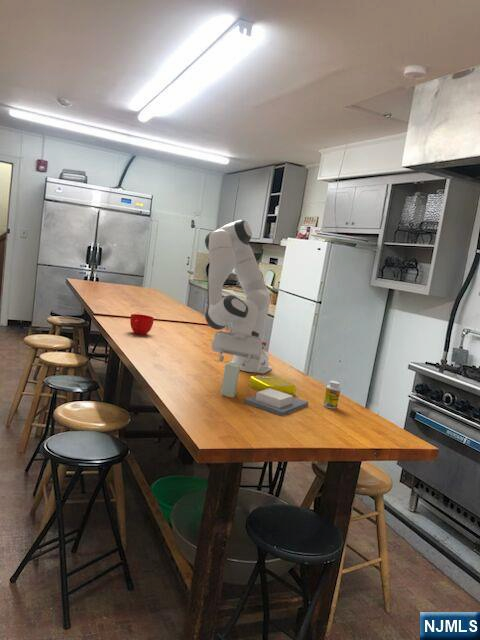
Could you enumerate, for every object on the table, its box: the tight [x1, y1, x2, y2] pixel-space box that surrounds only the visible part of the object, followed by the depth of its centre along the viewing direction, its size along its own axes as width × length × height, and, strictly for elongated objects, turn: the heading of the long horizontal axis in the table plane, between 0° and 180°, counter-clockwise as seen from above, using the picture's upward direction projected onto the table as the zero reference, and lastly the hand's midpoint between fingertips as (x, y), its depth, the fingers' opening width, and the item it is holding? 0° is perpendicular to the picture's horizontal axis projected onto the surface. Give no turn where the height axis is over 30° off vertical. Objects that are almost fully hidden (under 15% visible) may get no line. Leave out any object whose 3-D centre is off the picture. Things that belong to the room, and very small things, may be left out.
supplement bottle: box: [322, 380, 341, 409], centre depth 196 cm, size 6×6×10 cm
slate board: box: [243, 388, 309, 417], centre depth 188 cm, size 22×16×4 cm
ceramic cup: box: [129, 313, 155, 336], centre depth 279 cm, size 13×17×10 cm
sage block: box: [220, 361, 241, 398], centre depth 189 cm, size 5×5×12 cm
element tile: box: [248, 375, 297, 396], centre depth 208 cm, size 15×15×5 cm
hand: (232, 362), depth 193 cm, fingers open, 8 cm apart
